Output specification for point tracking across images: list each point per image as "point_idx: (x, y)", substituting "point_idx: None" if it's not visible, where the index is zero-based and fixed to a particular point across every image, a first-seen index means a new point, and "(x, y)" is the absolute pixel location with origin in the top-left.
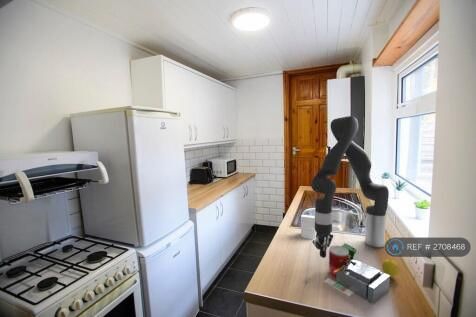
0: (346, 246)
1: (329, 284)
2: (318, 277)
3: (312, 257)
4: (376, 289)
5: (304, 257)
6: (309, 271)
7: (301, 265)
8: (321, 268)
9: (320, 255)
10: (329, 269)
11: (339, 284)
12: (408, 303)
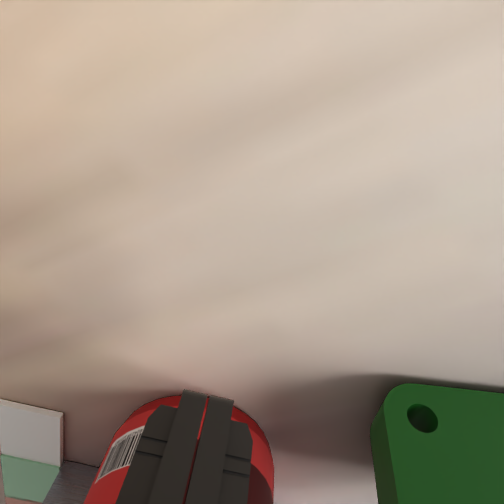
0: None
1: (3, 433)
2: (4, 351)
3: (331, 150)
4: None
5: (249, 39)
6: (6, 254)
7: (20, 117)
8: (161, 327)
9: (152, 420)
10: (123, 437)
11: None
12: None
